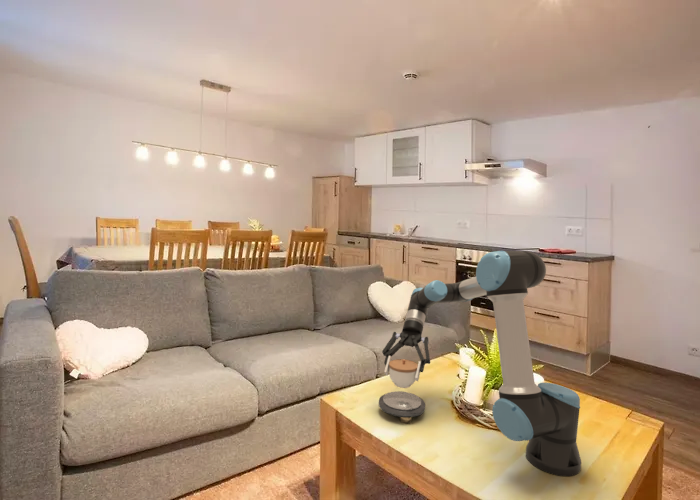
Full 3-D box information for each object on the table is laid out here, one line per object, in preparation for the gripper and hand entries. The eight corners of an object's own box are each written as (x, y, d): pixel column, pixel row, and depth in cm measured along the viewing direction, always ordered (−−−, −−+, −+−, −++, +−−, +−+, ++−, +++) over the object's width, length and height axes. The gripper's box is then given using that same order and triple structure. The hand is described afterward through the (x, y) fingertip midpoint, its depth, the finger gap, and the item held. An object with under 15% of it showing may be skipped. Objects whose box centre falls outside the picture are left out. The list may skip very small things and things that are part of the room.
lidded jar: (421, 383, 156) (423, 359, 155) (410, 393, 147) (411, 367, 146) (395, 376, 162) (397, 352, 161) (383, 385, 153) (384, 360, 152)
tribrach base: (429, 407, 160) (429, 395, 159) (418, 428, 144) (419, 414, 143) (386, 398, 166) (387, 386, 166) (372, 417, 150) (372, 404, 150)
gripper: (444, 333, 162) (434, 387, 149) (387, 324, 171) (372, 374, 158) (443, 323, 157) (432, 378, 144) (383, 314, 166) (368, 366, 153)
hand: (401, 376), depth 151 cm, fingers closed on lidded jar, 11 cm apart
